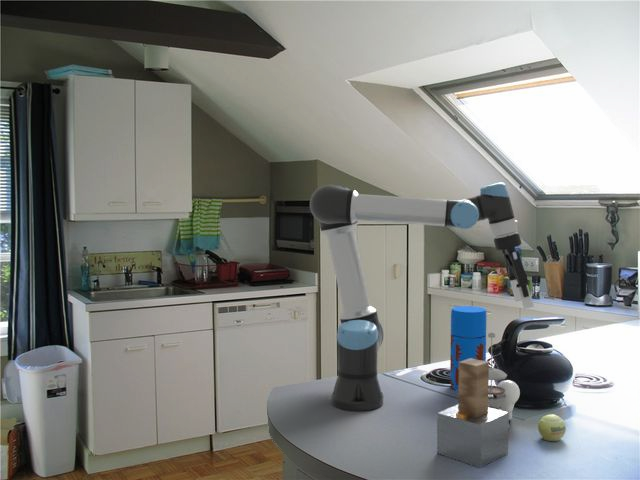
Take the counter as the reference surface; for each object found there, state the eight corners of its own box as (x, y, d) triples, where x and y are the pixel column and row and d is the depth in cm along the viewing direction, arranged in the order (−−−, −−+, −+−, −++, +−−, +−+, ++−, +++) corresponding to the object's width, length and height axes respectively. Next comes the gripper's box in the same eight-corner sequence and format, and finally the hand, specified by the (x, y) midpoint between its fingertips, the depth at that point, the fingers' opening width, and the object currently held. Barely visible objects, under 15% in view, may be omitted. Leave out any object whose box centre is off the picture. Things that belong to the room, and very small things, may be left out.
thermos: (483, 383, 224) (484, 306, 222) (487, 393, 214) (489, 312, 211) (448, 382, 225) (449, 305, 223) (451, 392, 215) (452, 312, 213)
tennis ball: (546, 418, 172) (570, 415, 174) (531, 413, 179) (554, 410, 181) (548, 444, 172) (572, 441, 174) (533, 438, 178) (556, 435, 180)
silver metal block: (437, 453, 167) (437, 408, 166) (465, 440, 176) (465, 397, 175) (480, 468, 159) (481, 420, 158) (507, 453, 167) (508, 408, 166)
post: (457, 452, 167) (458, 362, 165) (469, 446, 171) (470, 358, 169) (475, 458, 164) (477, 366, 162) (487, 452, 167) (488, 361, 165)
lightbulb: (519, 417, 192) (520, 378, 191) (518, 425, 186) (519, 384, 185) (495, 415, 194) (496, 376, 193) (494, 422, 188) (495, 382, 187)
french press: (503, 434, 180) (504, 338, 178) (460, 425, 186) (460, 333, 184) (514, 422, 188) (515, 330, 186) (473, 415, 194) (473, 326, 192)
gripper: (526, 233, 194) (546, 307, 195) (510, 229, 218) (528, 294, 219) (499, 241, 195) (519, 314, 195) (487, 235, 219) (504, 300, 220)
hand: (524, 303), depth 207 cm, fingers open, 13 cm apart
